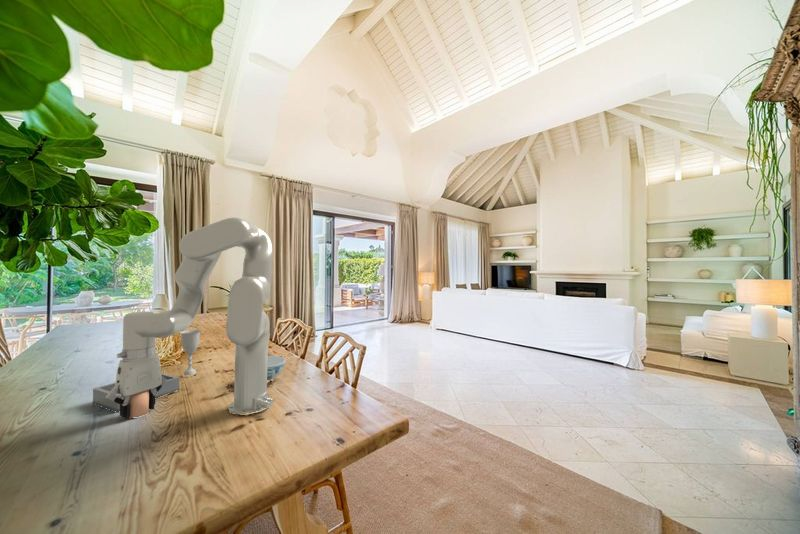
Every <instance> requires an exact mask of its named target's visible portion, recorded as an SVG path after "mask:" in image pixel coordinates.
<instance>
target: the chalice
mask: <svg viewBox="0 0 800 534" xmlns="http://www.w3.org/2000/svg"><path fill="white" fill-rule="evenodd" d="M201 332H202V330H201V329H188V330H183V331H181V332H179V333H180V335H181V337H180V342H181V343H180V344H181V347H182V349H183V352H184V353H185V354H186V355H188V357H187V360H188V362H187V365H188V367H187V369H185V370H184V372H183V374H184V375H185V376H186V375H193V374H195V373H197V371H196V369H195V368H193V367H192V364H193V362H192V361H193V357H192V355H193V354H194V353H195V352H196V350H197V349H198V347H199V345H200V337H201V336H200V334H201Z"/></svg>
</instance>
